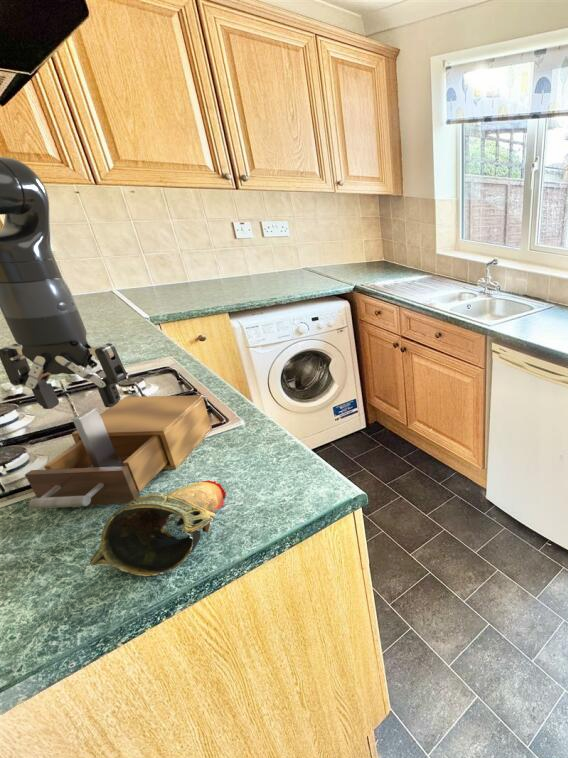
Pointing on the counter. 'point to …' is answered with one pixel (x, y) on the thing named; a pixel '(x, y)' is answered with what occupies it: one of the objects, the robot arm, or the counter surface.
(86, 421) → the inverted t stand
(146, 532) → the pot
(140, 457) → the drawer
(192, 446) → the cabinet
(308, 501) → the counter surface
